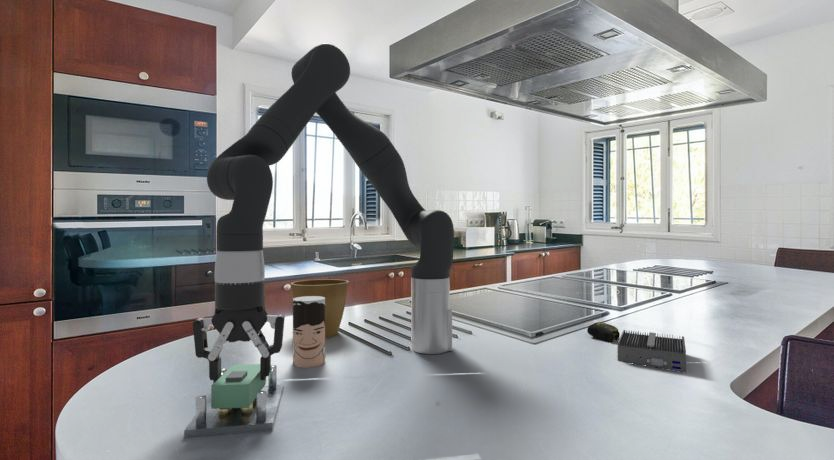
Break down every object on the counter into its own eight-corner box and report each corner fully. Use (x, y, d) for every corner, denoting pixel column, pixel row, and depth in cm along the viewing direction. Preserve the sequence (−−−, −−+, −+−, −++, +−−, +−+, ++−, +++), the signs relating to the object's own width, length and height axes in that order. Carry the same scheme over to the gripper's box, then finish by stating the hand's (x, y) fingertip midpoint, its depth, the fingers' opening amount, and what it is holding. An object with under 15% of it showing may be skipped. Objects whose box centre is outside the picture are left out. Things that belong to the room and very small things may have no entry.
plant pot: (360, 339, 116) (360, 280, 116) (320, 352, 104) (320, 286, 104) (320, 332, 124) (320, 277, 124) (279, 343, 112) (279, 282, 112)
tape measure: (584, 336, 115) (587, 323, 114) (598, 333, 119) (601, 320, 118) (608, 346, 109) (611, 332, 109) (622, 342, 113) (625, 329, 113)
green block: (233, 384, 74) (233, 361, 74) (265, 383, 75) (265, 360, 75) (211, 408, 64) (211, 381, 64) (248, 407, 65) (249, 380, 65)
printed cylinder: (286, 371, 90) (286, 300, 90) (304, 362, 96) (304, 295, 96) (314, 374, 88) (314, 301, 88) (330, 364, 94) (330, 296, 94)
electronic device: (684, 355, 102) (684, 334, 102) (686, 374, 88) (686, 350, 88) (623, 348, 108) (623, 328, 108) (617, 364, 95) (617, 341, 95)
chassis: (213, 396, 76) (213, 367, 76) (283, 390, 79) (283, 362, 79) (184, 439, 61) (184, 402, 61) (272, 430, 63) (272, 395, 63)
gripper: (288, 275, 75) (288, 370, 75) (199, 277, 72) (199, 376, 72) (283, 279, 67) (284, 385, 67) (184, 282, 65) (185, 392, 65)
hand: (240, 380), depth 70 cm, fingers open, 6 cm apart
